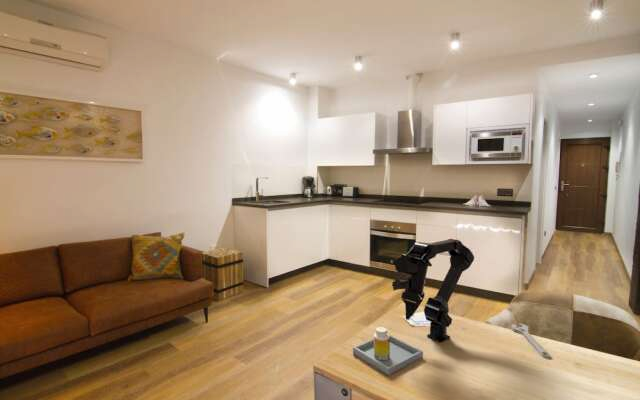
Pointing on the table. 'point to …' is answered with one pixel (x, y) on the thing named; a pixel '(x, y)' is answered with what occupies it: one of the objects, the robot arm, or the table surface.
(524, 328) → the adjustable wrench
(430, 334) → the robot arm
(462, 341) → the table surface
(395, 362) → the tray
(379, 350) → the supplement bottle
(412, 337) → the table surface
